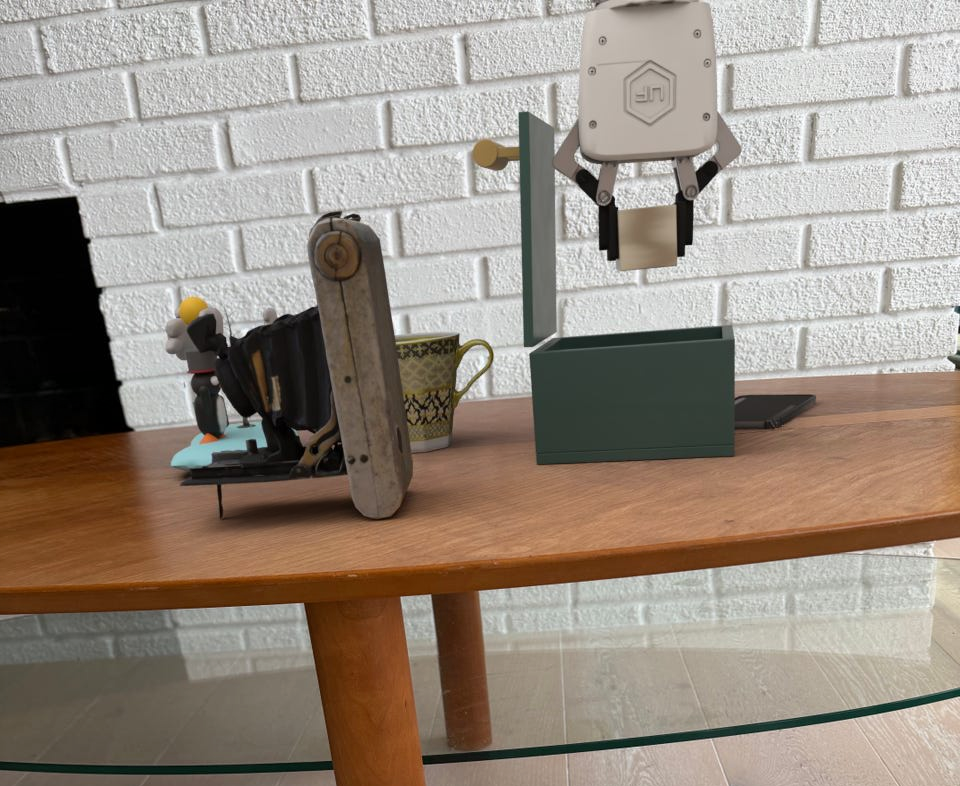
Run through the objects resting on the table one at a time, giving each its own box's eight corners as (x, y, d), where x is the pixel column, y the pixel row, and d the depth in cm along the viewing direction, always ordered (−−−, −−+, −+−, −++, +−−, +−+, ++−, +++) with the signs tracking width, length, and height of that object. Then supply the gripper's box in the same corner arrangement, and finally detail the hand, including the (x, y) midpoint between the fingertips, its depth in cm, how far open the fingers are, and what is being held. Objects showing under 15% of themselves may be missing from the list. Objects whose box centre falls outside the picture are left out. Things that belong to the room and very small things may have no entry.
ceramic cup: (353, 460, 92) (338, 347, 88) (377, 440, 101) (364, 337, 97) (494, 451, 90) (485, 335, 86) (505, 432, 99) (497, 326, 96)
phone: (690, 420, 92) (741, 394, 103) (690, 433, 92) (741, 405, 104) (777, 421, 88) (819, 393, 99) (777, 434, 88) (819, 405, 100)
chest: (732, 427, 91) (732, 324, 88) (734, 456, 79) (734, 338, 76) (558, 436, 94) (552, 337, 91) (536, 464, 83) (528, 353, 80)
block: (670, 264, 82) (669, 205, 80) (677, 265, 78) (676, 204, 76) (616, 269, 82) (613, 211, 81) (620, 271, 78) (617, 210, 76)
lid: (554, 127, 85) (494, 131, 86) (528, 111, 73) (459, 115, 74) (556, 332, 91) (500, 333, 92) (533, 347, 79) (469, 348, 80)
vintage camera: (226, 509, 79) (165, 239, 72) (419, 486, 78) (378, 210, 71) (190, 544, 70) (116, 241, 63) (407, 519, 69) (358, 207, 62)
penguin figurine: (276, 475, 88) (246, 293, 83) (155, 486, 88) (118, 305, 83) (309, 437, 107) (287, 286, 102) (209, 445, 107) (182, 296, 102)
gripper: (529, -13, 70) (538, 266, 77) (776, -32, 69) (763, 253, 76) (530, 10, 77) (538, 263, 84) (754, -7, 76) (744, 251, 83)
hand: (645, 255), depth 80 cm, fingers closed on block, 4 cm apart
